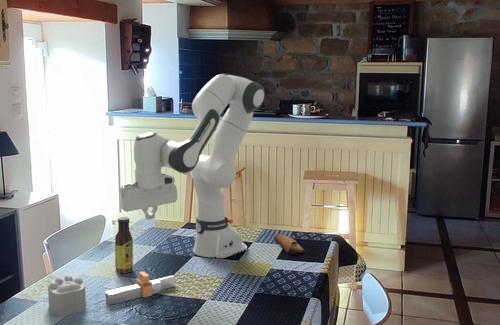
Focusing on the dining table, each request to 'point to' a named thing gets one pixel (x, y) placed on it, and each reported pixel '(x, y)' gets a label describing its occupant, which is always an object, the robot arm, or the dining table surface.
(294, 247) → the brown tapered cylinder
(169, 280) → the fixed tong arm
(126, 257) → the sauce bottle
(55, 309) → the lumpy-topped squat cylinder
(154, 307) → the dining table surface
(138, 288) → the bar
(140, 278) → the collar
